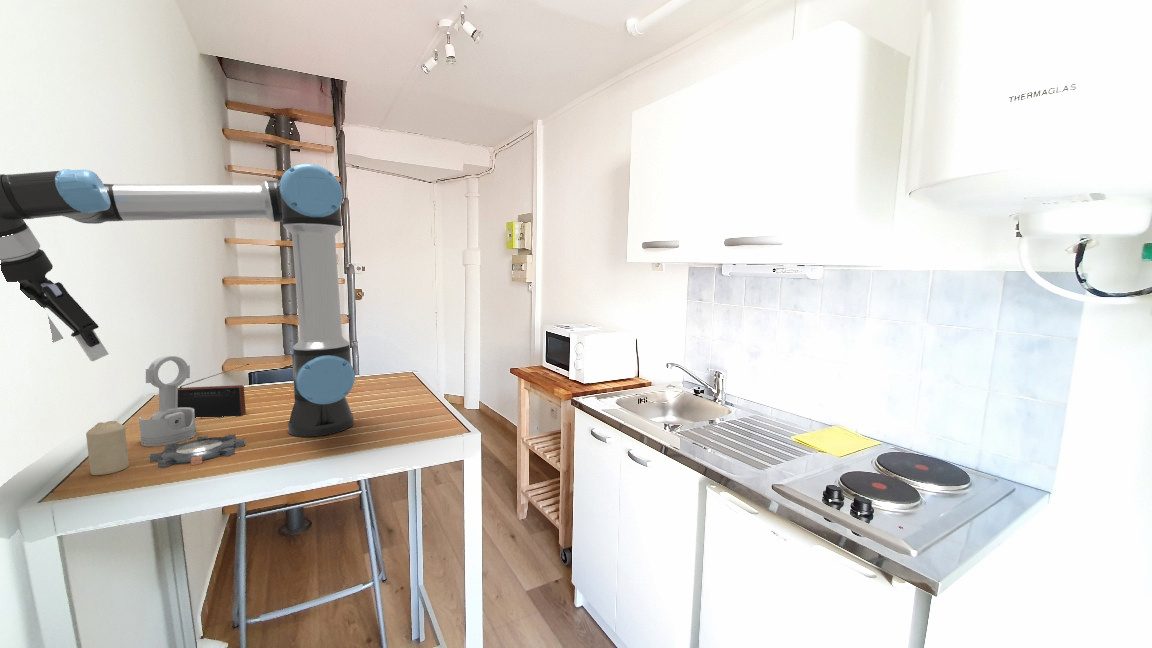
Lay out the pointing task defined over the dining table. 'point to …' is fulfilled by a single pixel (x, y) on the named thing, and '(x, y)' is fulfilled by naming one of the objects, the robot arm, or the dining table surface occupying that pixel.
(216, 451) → the sprocket
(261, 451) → the dining table surface
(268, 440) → the dining table surface
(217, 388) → the radio
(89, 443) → the candle
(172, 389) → the engine component
